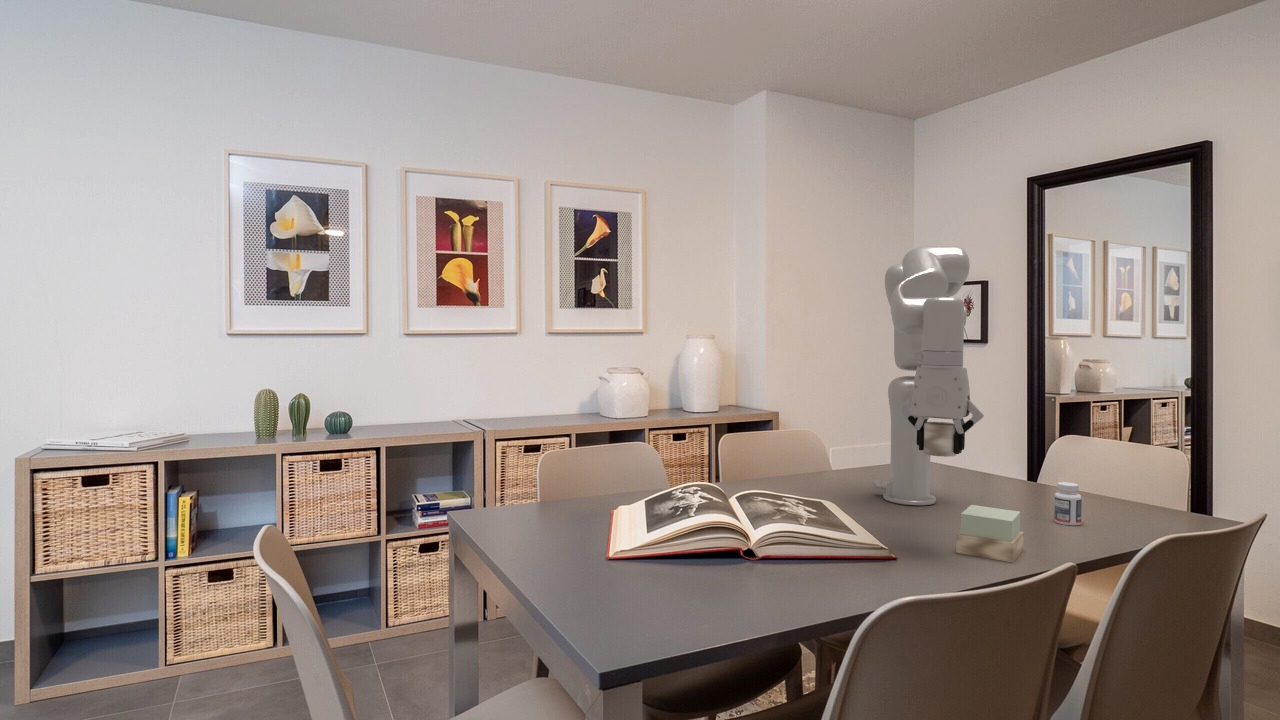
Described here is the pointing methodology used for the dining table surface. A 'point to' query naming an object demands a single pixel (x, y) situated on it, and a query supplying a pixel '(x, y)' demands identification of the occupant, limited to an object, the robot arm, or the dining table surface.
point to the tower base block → (990, 547)
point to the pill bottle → (1068, 504)
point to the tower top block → (990, 523)
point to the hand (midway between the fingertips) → (940, 450)
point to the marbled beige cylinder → (939, 438)
